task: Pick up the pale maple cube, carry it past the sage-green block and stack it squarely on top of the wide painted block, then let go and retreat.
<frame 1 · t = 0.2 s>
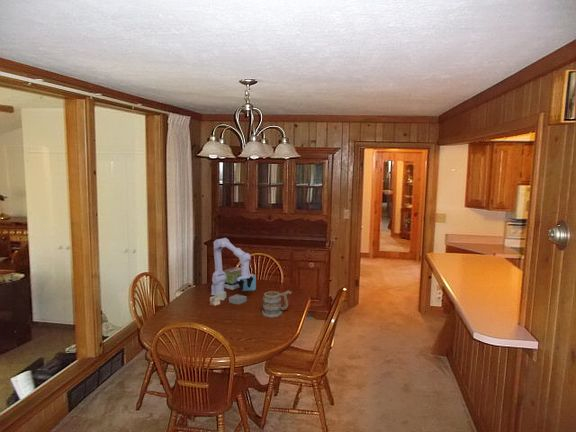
hand: (245, 288, 299), 10 cm above the table, tool pointing down, fingers open, 7 cm apart
maple cube: (215, 304, 295), on the table
base block: (237, 302, 300), on the table
data package: (248, 290, 328), on the table
tankard: (277, 313, 278), on the table
sage block: (221, 298, 307), on the table
tea box: (234, 287, 336), on the table
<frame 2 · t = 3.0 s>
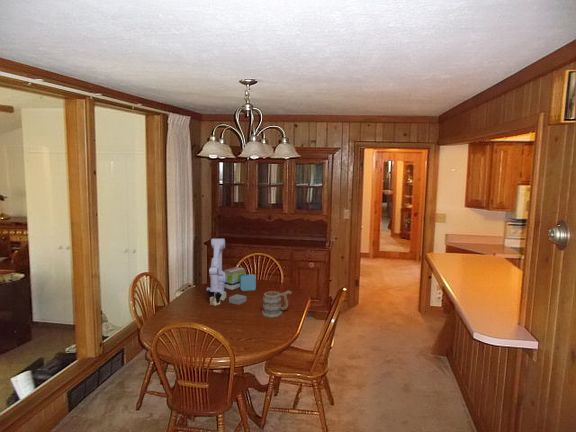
hand: (215, 301, 295), 2 cm above the table, tool pointing down, fingers closed on maple cube, 5 cm apart
maple cube: (215, 304, 295), on the table, touching gripper
everything else where it was.
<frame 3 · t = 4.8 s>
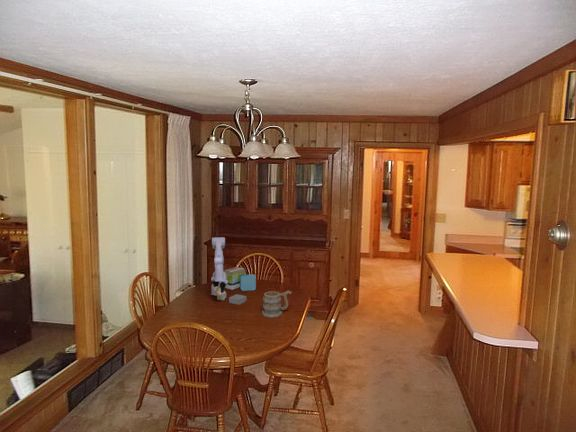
hand: (219, 291, 295), 9 cm above the table, tool pointing down, fingers closed on maple cube, 5 cm apart
maple cube: (219, 293, 295), point 7 cm above the table, touching gripper
everything else where it was.
when the fingers open (7 cm above the table, at t = 6.9 s): maple cube drops 2 cm, point 4 cm above the table.
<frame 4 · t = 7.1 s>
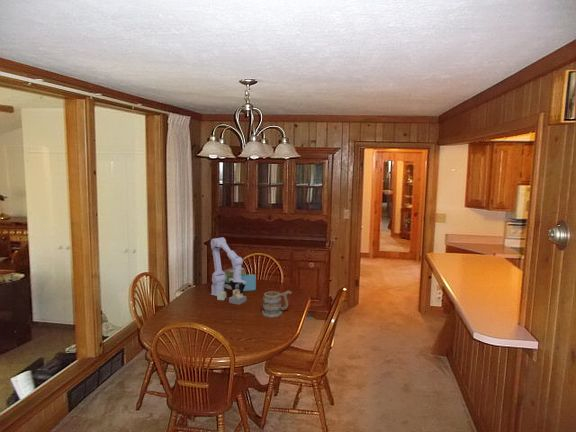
hand: (237, 292, 299), 7 cm above the table, tool pointing down, fingers open, 7 cm apart
maple cube: (237, 296, 300), point 4 cm above the table
everything else where it was.
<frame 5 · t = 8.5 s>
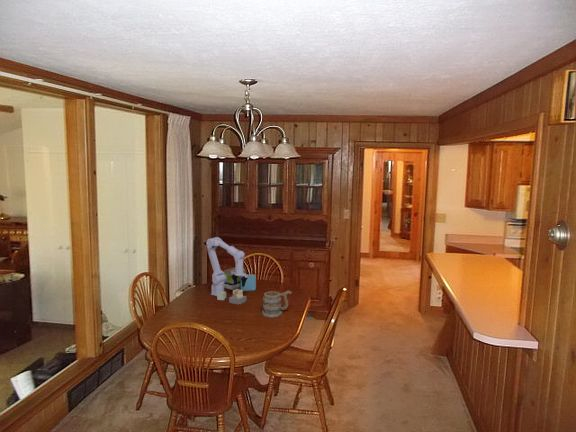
hand: (239, 285, 305), 10 cm above the table, tool pointing down, fingers open, 7 cm apart
nothing on the table moved.
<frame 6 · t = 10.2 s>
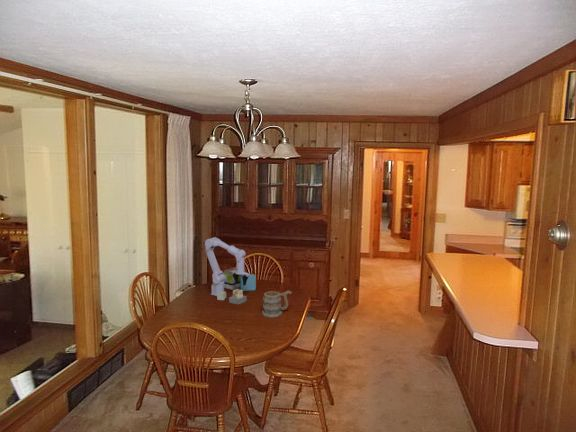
hand: (240, 284, 308), 10 cm above the table, tool pointing down, fingers open, 7 cm apart
maple cube: (237, 297, 300), point 4 cm above the table, touching base block
base block: (237, 302, 301), on the table, touching maple cube
everything else where it was.
at the end: maple cube 0.4 cm off-centre on the base block, point 4.0 cm above the base block's base; maple cube tilted 0°; the gripper is holding nothing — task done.
